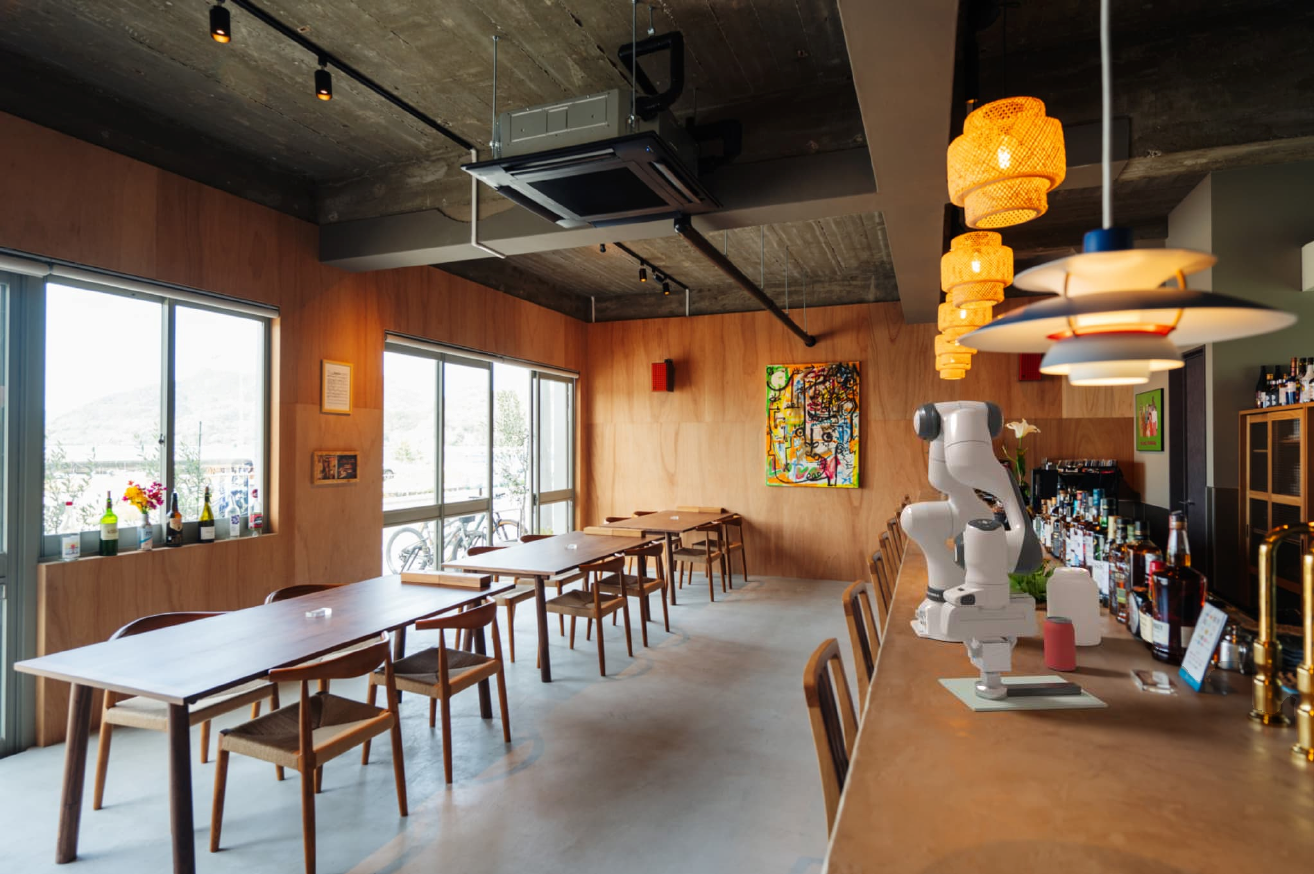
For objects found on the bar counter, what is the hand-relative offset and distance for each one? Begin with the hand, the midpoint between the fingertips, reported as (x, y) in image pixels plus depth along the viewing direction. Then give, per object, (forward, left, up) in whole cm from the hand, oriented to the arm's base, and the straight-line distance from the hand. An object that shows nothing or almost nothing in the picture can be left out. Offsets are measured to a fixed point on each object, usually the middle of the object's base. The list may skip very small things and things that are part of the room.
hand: (989, 657), depth 149 cm
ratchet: (0, +8, -8) cm, 12 cm away
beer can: (-18, +26, -9) cm, 33 cm away
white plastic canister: (-40, +43, -9) cm, 59 cm away
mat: (-2, +7, -9) cm, 12 cm away
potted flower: (-80, +56, -9) cm, 98 cm away
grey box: (0, 0, -2) cm, 2 cm away
